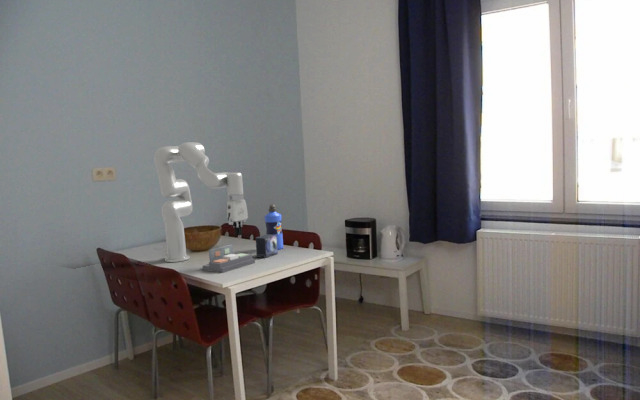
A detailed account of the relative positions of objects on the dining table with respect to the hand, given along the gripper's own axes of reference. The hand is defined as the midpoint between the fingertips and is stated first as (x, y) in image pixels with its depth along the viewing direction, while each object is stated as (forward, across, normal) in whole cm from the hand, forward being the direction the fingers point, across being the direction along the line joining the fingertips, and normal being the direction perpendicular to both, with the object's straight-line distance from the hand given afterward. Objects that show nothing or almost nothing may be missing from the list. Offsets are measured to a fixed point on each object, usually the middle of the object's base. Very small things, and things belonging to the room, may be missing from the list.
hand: (238, 234), depth 247 cm
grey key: (+11, -6, 0) cm, 13 cm away
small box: (+15, +19, 0) cm, 24 cm away
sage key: (+12, 0, 0) cm, 12 cm away
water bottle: (+15, +34, +8) cm, 38 cm away
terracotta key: (+12, -13, 0) cm, 18 cm away
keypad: (+14, -6, +1) cm, 16 cm away
